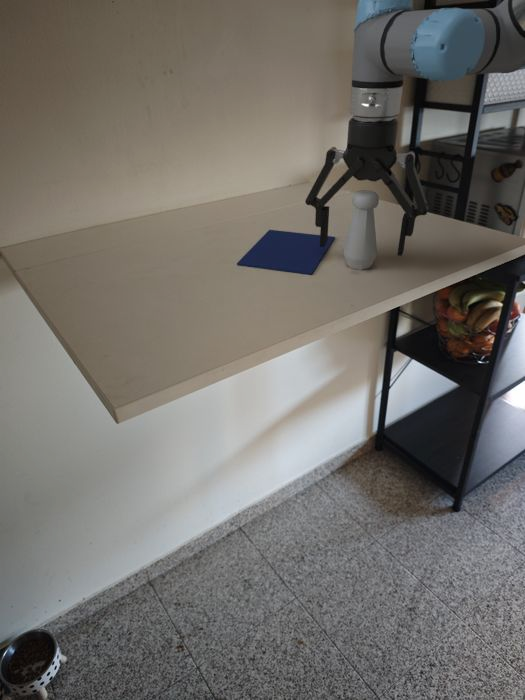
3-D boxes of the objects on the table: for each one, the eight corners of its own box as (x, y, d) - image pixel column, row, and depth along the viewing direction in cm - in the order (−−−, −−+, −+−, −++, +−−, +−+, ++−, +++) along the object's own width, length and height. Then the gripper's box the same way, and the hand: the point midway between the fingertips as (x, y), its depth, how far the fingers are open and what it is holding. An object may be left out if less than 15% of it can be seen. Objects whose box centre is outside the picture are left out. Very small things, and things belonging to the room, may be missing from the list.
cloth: (334, 238, 100) (335, 236, 100) (311, 275, 86) (311, 272, 86) (269, 231, 104) (269, 229, 104) (236, 265, 90) (236, 263, 90)
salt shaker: (350, 273, 86) (356, 198, 79) (337, 261, 91) (342, 189, 84) (381, 269, 88) (390, 195, 80) (367, 257, 92) (374, 185, 85)
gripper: (288, 118, 77) (287, 248, 89) (459, 124, 70) (433, 265, 81) (302, 111, 83) (299, 233, 94) (460, 116, 75) (436, 248, 87)
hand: (361, 248), depth 88 cm, fingers open, 13 cm apart
